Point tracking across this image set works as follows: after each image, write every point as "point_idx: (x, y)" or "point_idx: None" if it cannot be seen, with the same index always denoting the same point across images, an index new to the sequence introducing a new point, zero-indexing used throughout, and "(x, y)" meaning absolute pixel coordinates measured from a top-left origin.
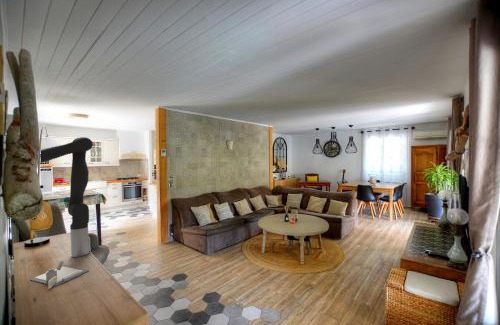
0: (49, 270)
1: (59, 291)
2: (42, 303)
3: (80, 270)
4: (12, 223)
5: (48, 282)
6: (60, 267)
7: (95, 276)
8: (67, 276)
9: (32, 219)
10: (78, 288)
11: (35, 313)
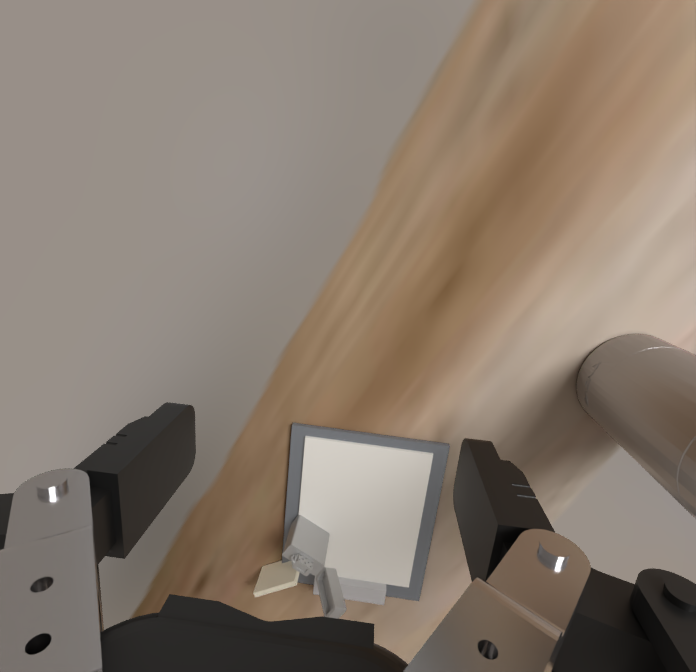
0: (292, 565)
1: (260, 615)
2: None
3: (406, 575)
4: (170, 405)
5: (255, 589)
6: (326, 591)
7: None
8: None
9: (459, 459)
10: None
11: None
